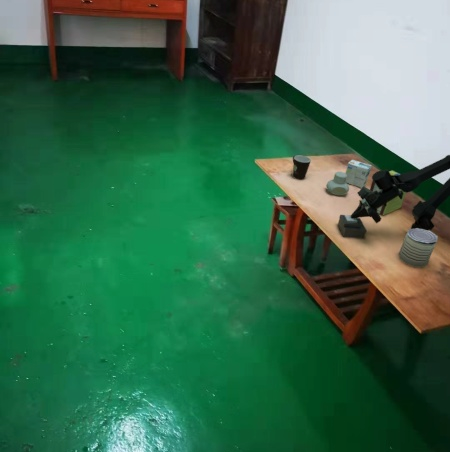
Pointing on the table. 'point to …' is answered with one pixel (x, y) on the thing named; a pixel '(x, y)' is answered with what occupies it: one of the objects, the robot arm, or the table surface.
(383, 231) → the table surface
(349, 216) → the pad
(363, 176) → the light bulb box
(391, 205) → the protein box
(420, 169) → the robot arm
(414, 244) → the can
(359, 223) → the stepped grey pedestal
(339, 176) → the air freshener
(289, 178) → the table surface
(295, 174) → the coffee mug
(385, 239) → the table surface
